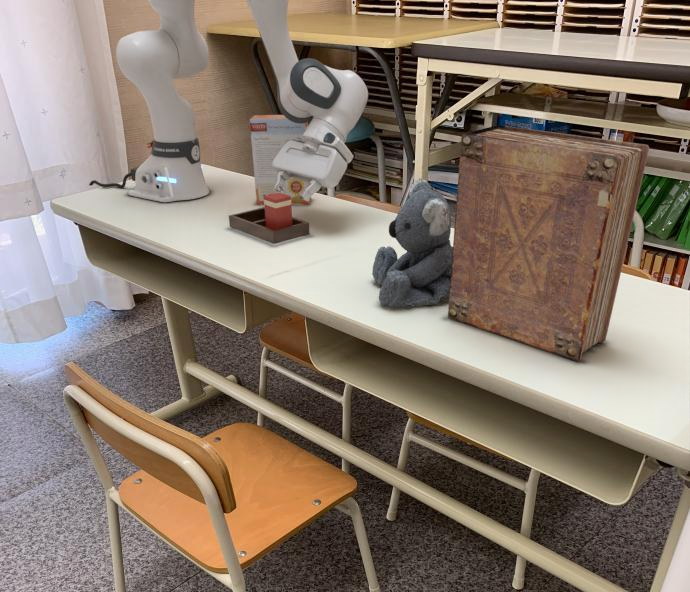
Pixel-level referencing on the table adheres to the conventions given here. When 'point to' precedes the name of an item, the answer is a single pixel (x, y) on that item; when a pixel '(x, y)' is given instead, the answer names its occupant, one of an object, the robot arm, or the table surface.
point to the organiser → (256, 226)
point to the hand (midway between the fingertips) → (290, 195)
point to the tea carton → (278, 211)
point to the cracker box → (274, 154)
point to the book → (542, 234)
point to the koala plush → (417, 252)
